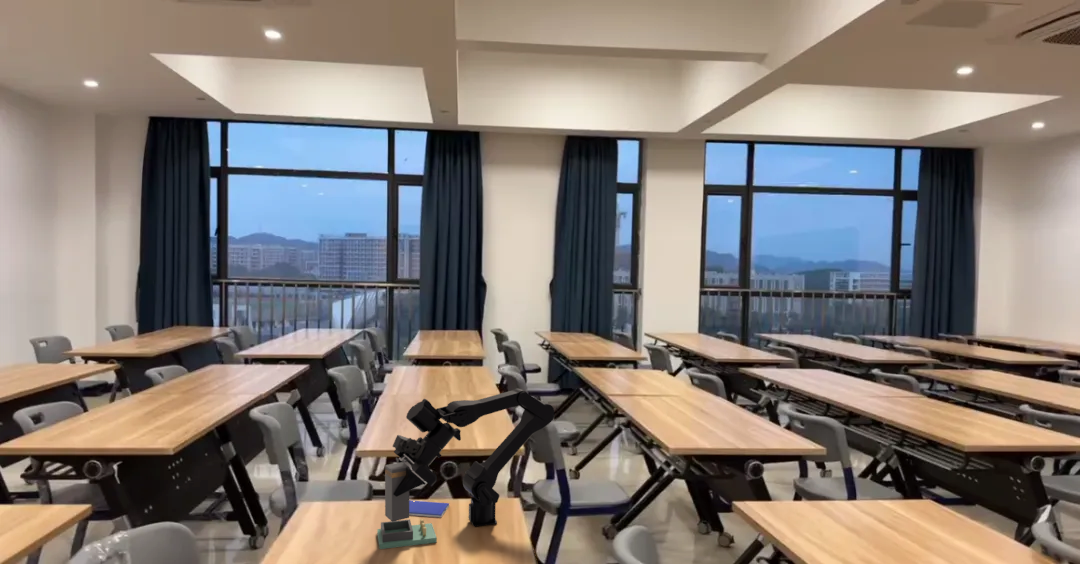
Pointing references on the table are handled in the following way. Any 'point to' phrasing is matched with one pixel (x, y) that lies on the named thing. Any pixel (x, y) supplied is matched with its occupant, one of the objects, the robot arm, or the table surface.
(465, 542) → the table surface
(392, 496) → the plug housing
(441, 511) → the hard drive
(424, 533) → the header board
